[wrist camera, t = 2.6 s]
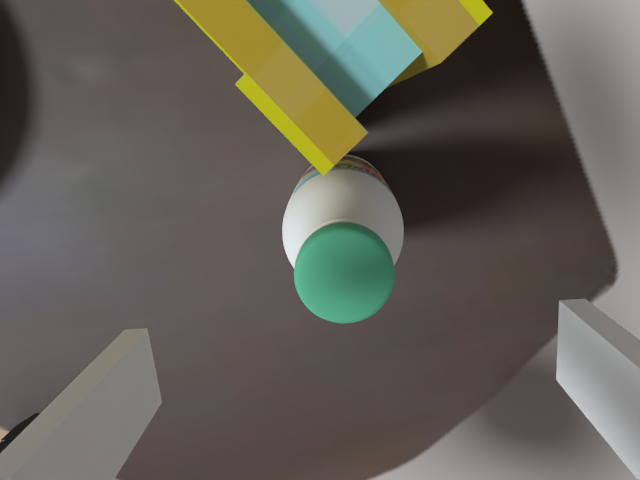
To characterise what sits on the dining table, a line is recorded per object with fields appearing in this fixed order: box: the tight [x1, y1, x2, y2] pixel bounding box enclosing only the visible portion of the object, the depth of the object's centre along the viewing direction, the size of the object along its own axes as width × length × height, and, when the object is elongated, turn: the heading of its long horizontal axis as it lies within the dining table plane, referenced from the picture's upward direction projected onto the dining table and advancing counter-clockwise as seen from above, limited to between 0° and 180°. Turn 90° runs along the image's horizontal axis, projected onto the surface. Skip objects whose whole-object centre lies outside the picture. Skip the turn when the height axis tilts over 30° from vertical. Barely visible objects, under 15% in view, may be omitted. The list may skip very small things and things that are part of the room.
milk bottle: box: [282, 154, 404, 323], centre depth 31 cm, size 8×8×20 cm
